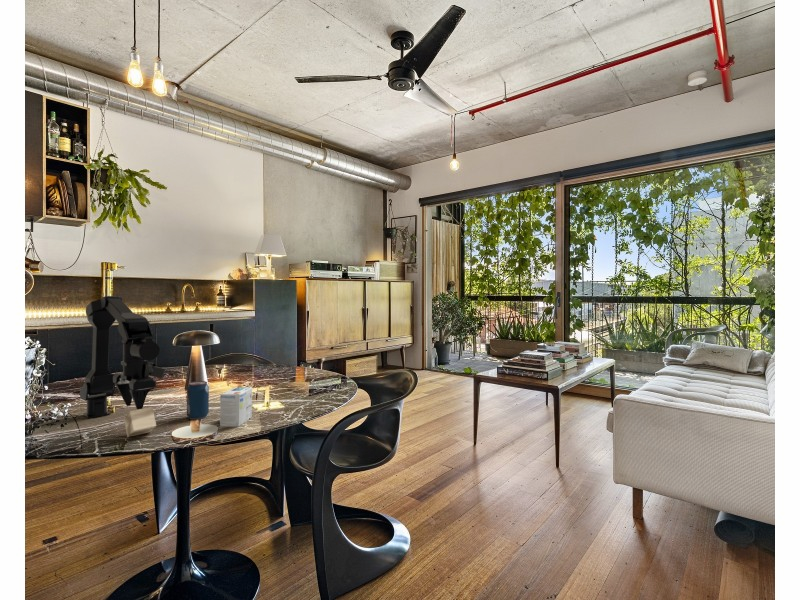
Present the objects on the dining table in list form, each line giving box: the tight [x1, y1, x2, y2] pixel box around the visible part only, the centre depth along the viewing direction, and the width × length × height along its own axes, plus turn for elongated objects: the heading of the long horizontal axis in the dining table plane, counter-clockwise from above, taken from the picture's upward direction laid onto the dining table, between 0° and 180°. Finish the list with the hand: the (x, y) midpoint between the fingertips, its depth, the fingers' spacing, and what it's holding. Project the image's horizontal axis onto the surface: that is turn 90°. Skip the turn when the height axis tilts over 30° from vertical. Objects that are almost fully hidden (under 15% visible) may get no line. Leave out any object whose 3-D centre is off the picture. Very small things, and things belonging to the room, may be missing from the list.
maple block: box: [123, 406, 157, 438], centre depth 123 cm, size 6×6×6 cm
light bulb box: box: [219, 386, 253, 428], centre depth 137 cm, size 11×7×11 cm, turn 178°
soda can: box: [186, 380, 210, 420], centre depth 142 cm, size 7×7×12 cm
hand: (134, 408), depth 126 cm, fingers open, 9 cm apart
